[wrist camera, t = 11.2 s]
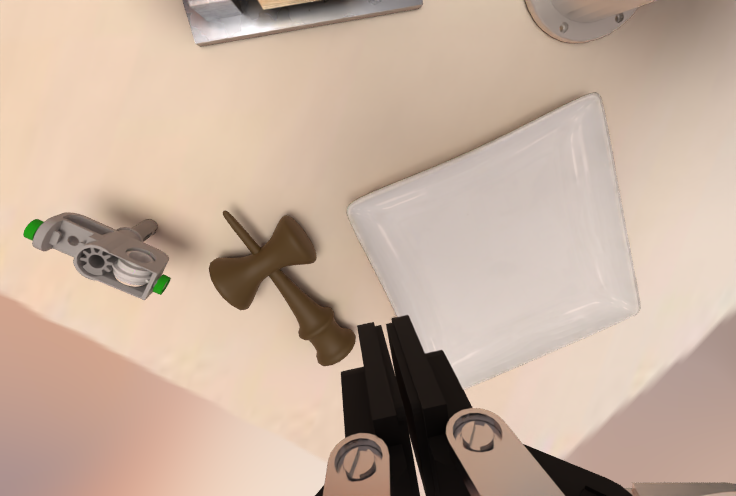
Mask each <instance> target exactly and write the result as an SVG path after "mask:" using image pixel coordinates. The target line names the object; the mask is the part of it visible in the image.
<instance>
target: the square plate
mask: <svg viewBox="0 0 736 496" xmlns="http://www.w3.org/2000/svg"><path fill="white" fill-rule="evenodd" d="M346 211H347V216H348V218H349V221H350V223H351V225H352V227H353V230H354V232H355V234H356V236H357V238H358V240H359V242H360V244H361V246H362V248H363V249H364V251H365V253H366V255H367V257H368V259H369V261H370V263H371V265H372V267H373V269H374V271H375V273H376V275H377V277H378V279H379V281H380V283H381V285H382V287H383V289H384V290H385V292H386V295H387V297H388V299H389V301H390V303H391V305H392V307H393V309H394V311H395V314H396V316H397V317H400V316H405V315H409V317H410V320H411V322H412V324H413V327H414V329H415V331H416V334H417V336H418V338H419V341H420V343H421V345H422V348H423V350H424V352H425V353H429V352H434V351H438V350H443V351H444V353H445V355H446V357H447V359H448V361H449V363H450V365H451V367H452V369H453V371H454V373H455V374H456V376H457V378H458V380H459V382H460V384H461V386H462V388H463V390H465V389H467V388H470V387H472V386H474V385H477V384H479V383H481V382H484V381H486V380H488V379H491V378H493V377H495V376H498V375H500V374H502V373H505V372H507V371H509V370H512V369H514V368H516V367H519V366H521V365H523V364H526V363H528V362H530V361H533V360H535V359H537V358H539V357H542V356H544V355H546V354H549V353H551V352H553V351H556V350H558V349H560V348H562V347H565V346H567V345H569V344H572V343H574V342H576V341H579V340H581V339H583V338H586V337H588V336H590V335H592V334H595V333H597V332H599V331H602V330H604V329H606V328H609V327H611V326H613V325H615V324H617V323H620V322H622V321H624V320H626V319H628V318H630V317H632V316H634V315H636V314H638V312H639V311H640V298H639V293H638V287H637V282H636V277H635V272H634V266H633V261H632V256H631V251H630V245H629V240H628V235H627V230H626V225H625V219H624V214H623V208H622V203H621V197H620V192H619V186H618V181H617V176H616V170H615V164H614V158H613V152H612V147H611V141H610V136H609V130H608V125H607V120H606V115H605V111H604V107H603V103H602V98H601V96H600V95H599V93H597V92H594V93H590V94H587V95H585V96H582V97H580V98H578V99H576V100H573V101H571V102H569V103H567V104H565V105H563V106H561V107H559V108H557V109H555V110H553V111H551V112H549V113H547V114H545V115H543V116H541V117H539V118H537V119H535V120H533V121H531V122H529V123H527V124H525V125H523V126H521V127H519V128H517V129H515V130H513V131H511V132H509V133H507V134H505V135H503V136H501V137H499V138H497V139H495V140H493V141H491V142H489V143H487V144H484V145H482V146H480V147H478V148H476V149H474V150H471V151H469V152H467V153H465V154H463V155H460V156H458V157H456V158H453V159H451V160H449V161H446V162H444V163H442V164H439V165H437V166H435V167H432V168H430V169H427V170H425V171H422V172H420V173H418V174H415V175H413V176H410V177H408V178H405V179H403V180H400V181H398V182H395V183H393V184H390V185H388V186H386V187H383V188H381V189H378V190H376V191H374V192H371V193H369V194H367V195H365V196H362V197H360V198H358V199H356V200H355V201H353V202H352V203H351V204H349V206H348V207H347V210H346Z"/></svg>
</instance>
